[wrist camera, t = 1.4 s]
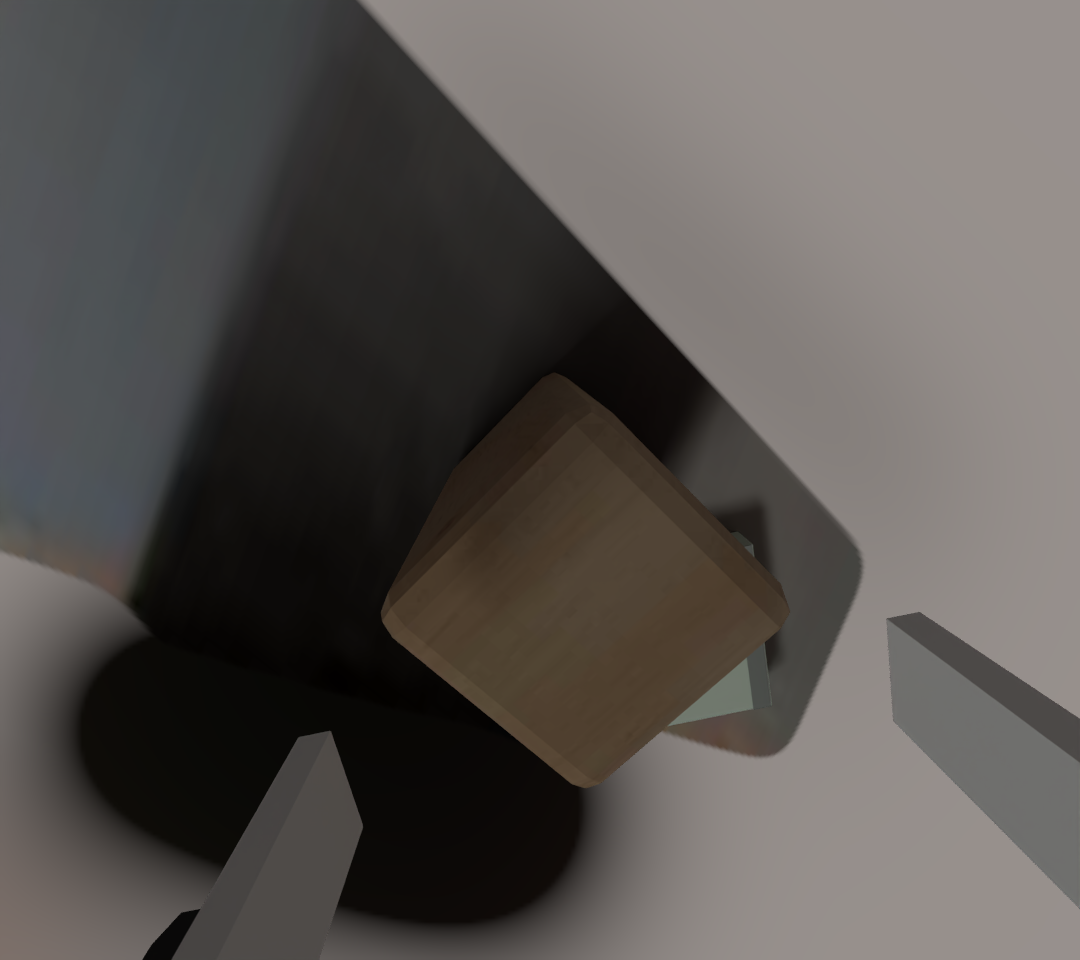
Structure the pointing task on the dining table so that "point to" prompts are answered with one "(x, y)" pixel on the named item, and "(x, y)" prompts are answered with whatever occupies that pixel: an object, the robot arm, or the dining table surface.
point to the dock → (735, 683)
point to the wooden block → (577, 586)
